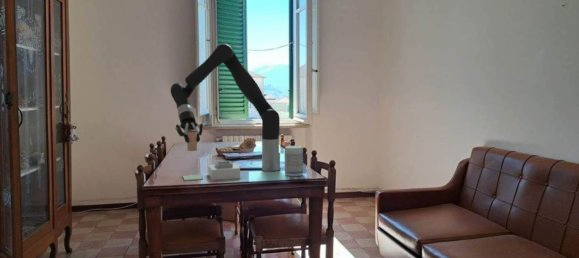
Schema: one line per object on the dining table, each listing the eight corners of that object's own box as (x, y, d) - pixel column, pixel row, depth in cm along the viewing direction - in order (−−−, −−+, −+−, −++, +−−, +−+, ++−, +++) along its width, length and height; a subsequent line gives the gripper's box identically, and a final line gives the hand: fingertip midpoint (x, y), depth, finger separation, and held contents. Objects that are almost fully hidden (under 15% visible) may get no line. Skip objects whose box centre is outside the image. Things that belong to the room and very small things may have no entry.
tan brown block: (196, 149, 212) (196, 129, 211) (197, 150, 208) (197, 130, 207) (187, 149, 211) (186, 129, 210) (187, 151, 206) (187, 130, 205)
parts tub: (238, 172, 225) (237, 159, 224) (243, 177, 212) (243, 164, 212) (208, 174, 220) (208, 161, 219) (211, 179, 207) (211, 165, 207)
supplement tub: (306, 175, 218) (306, 147, 217) (291, 177, 213) (291, 148, 211) (296, 172, 226) (296, 145, 225) (281, 174, 221) (281, 146, 219)
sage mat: (201, 175, 216) (201, 174, 216) (203, 179, 208) (203, 178, 208) (182, 177, 214) (182, 175, 214) (184, 180, 205) (184, 179, 205)
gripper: (173, 110, 210) (179, 137, 201) (201, 110, 217) (209, 136, 208) (171, 120, 216) (177, 147, 206) (198, 119, 222) (205, 145, 213)
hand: (193, 141), depth 207 cm, fingers closed on tan brown block, 4 cm apart
